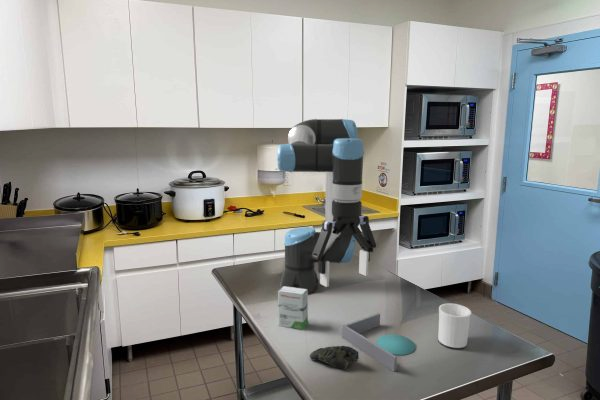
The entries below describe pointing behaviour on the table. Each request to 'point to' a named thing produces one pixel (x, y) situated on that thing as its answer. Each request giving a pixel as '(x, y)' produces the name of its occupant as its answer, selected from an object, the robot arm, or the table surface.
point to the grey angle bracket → (378, 353)
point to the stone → (336, 356)
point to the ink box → (293, 307)
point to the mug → (453, 325)
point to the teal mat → (396, 344)
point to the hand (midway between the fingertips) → (344, 279)
